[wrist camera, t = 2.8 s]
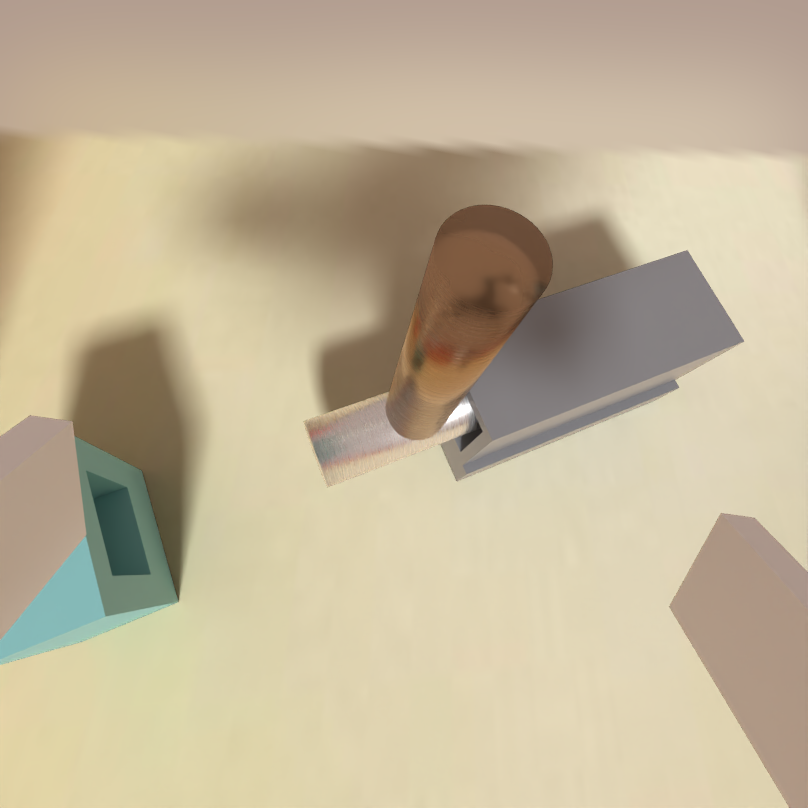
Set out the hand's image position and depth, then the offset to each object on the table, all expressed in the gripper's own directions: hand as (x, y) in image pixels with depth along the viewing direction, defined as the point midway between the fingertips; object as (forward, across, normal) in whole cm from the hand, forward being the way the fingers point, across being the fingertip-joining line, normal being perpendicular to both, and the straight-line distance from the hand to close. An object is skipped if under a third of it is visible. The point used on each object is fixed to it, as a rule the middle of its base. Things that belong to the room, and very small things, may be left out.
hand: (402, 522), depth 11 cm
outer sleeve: (+20, +9, -5) cm, 22 cm away
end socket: (+11, -12, -13) cm, 21 cm away
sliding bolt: (+16, +5, -4) cm, 17 cm away
